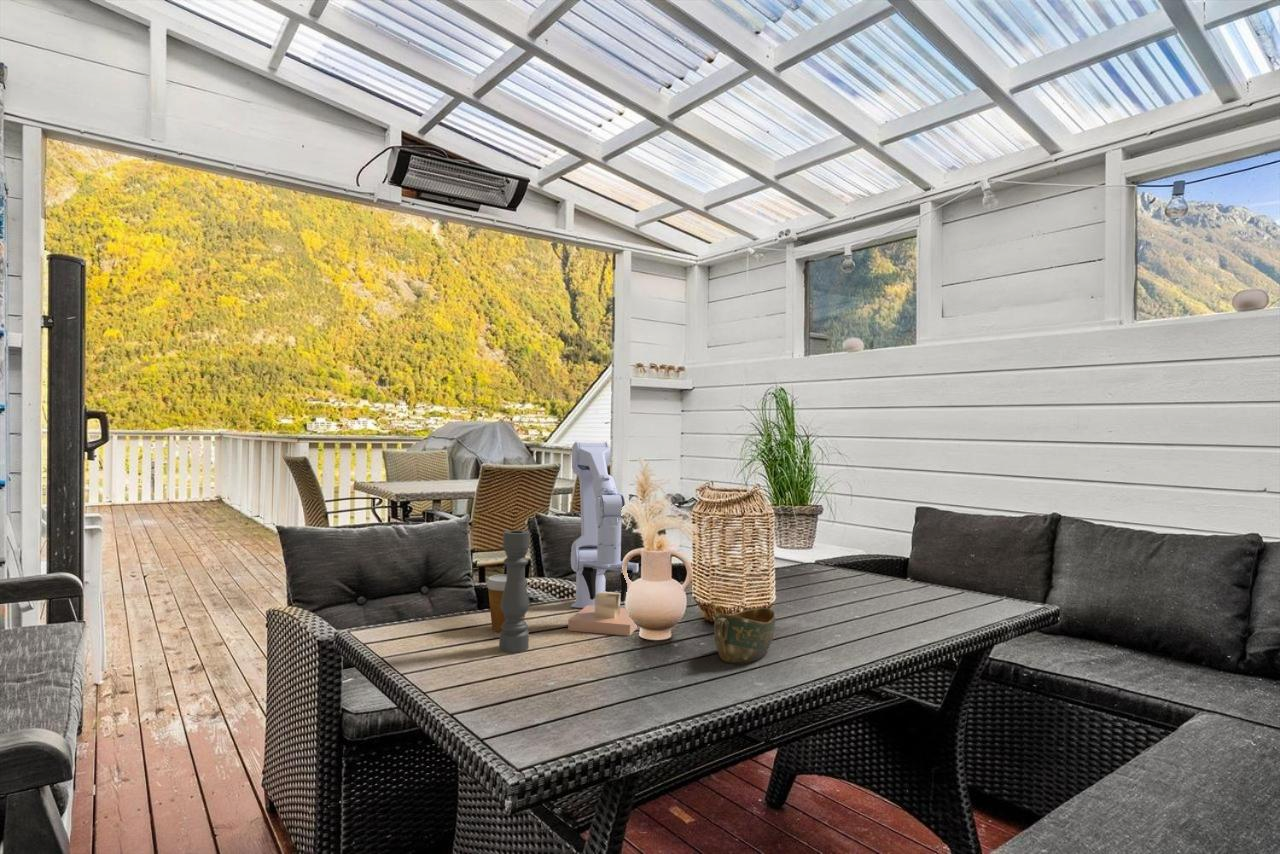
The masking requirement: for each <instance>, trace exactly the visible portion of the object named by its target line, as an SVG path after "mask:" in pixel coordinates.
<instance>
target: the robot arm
mask: <svg viewBox="0 0 1280 854" xmlns="http://www.w3.org/2000/svg"><path fill="white" fill-rule="evenodd" d="M610 462H611V446H610V444H609V443H608V442H607V441H606V442H581V441H579V442H578V441H575V442H574V443H573V444H572V447H571V468H572V474H574V475H577V476H578V480H579V481H578V482H579V498H580V499H579V500H580V504H579V505H580V533H581V535H580V536H579V537H578V538H577V539H576V540H574V541H573V542H572V545H571V552H570V566H571V569H572V570H573V572H575V573H576V576H575V577H576V581H575V583H576V584H575V585H576V586H575V588H576V589H575V602H573V603H572V604H571V605H570V607H571V608H578V609H583V608H584V607H586V606H587V605H589V606H595V595H597V594H598V593H599V592H601V591H602V592H606V576H605V573H606V571H617V572H618V571H619V572H621V573H620V575H619V577H620V603H624V602H626V599H627V594H626V592H627V593H628V590H627V583H626V580H625V578H624V575H623V570H622V565H623V561H624V560H623V561H622V560H621V553H622V519H623V518H624V516H625V514H624V515H623V516H621V510H622V507H623V506H624V505H625V506H626V501H625V497H624V494H623V493H621V492H619V491H618V488H617V486H616V483H615V479H614V478H613V476H612V475H610V474H608V466H609V463H610ZM617 518H618V520H619V521H618V522H617ZM627 562H628V565H627V573H628V577H629V579H630V580H631V581H632V580H633V577H634V576H635V575H636V573H638V572H639V567H640V566H639V563H638V562H637V563H636V562H630V561H627Z"/></svg>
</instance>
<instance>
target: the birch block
mask: <svg viewBox="0 0 1280 854" xmlns="http://www.w3.org/2000/svg"><path fill="white" fill-rule="evenodd" d="M620 608H621V592H615V591H614V592H613V591H605V592H602V591H601V592H599V593H598V594H597V595H595V617H606V618H615V617H616V616H617V615H619V614H620Z"/></svg>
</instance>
